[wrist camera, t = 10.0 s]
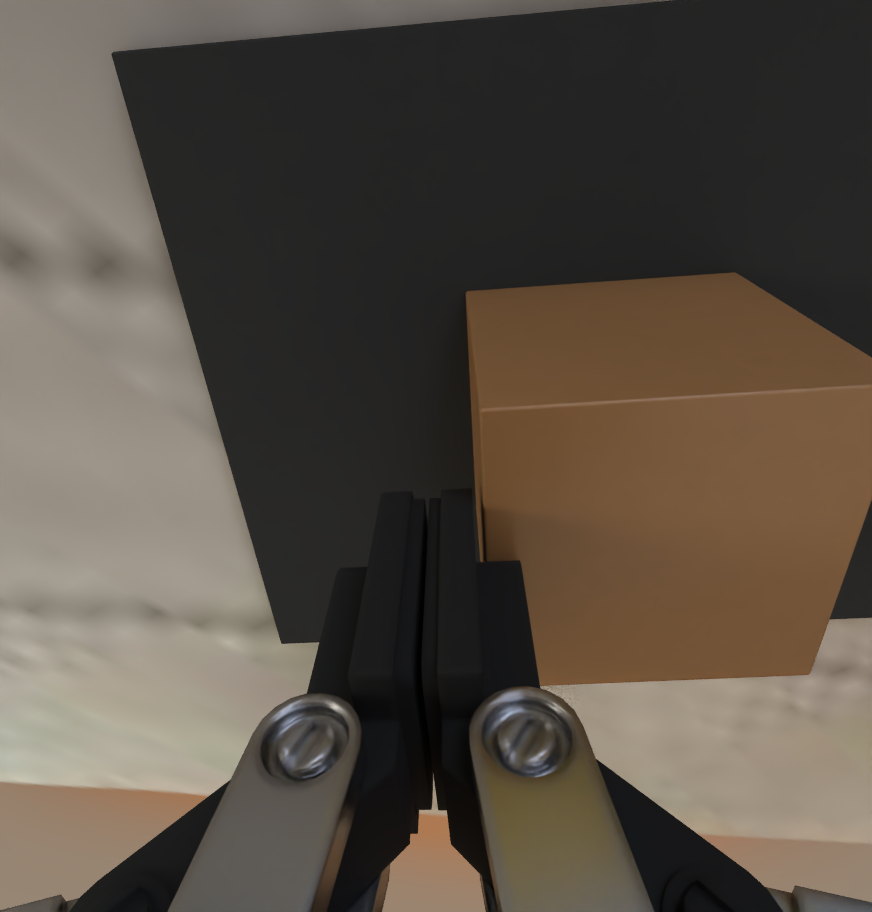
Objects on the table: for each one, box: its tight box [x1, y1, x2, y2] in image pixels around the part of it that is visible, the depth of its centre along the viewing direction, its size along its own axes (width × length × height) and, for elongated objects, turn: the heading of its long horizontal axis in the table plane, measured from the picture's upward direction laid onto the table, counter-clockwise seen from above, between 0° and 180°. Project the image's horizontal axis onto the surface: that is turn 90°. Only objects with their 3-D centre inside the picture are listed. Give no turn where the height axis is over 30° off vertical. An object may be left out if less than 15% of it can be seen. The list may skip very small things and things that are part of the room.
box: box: [466, 272, 872, 686], centre depth 13 cm, size 6×6×6 cm
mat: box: [112, 0, 872, 644], centre depth 15 cm, size 25×16×1 cm, turn 94°
